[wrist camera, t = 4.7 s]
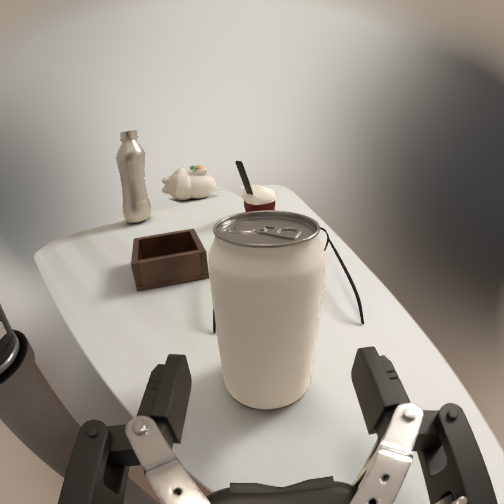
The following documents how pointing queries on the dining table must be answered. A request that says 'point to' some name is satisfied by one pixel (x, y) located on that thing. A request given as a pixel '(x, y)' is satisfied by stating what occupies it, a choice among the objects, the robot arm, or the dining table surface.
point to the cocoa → (255, 194)
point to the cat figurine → (189, 183)
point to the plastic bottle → (133, 178)
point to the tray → (168, 259)
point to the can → (267, 304)
